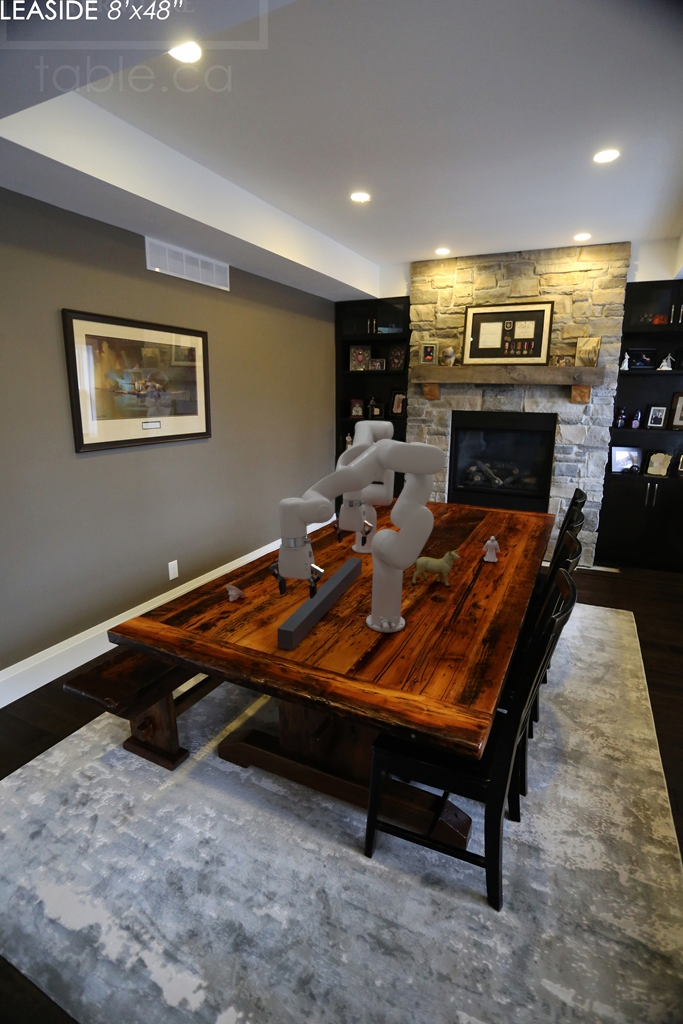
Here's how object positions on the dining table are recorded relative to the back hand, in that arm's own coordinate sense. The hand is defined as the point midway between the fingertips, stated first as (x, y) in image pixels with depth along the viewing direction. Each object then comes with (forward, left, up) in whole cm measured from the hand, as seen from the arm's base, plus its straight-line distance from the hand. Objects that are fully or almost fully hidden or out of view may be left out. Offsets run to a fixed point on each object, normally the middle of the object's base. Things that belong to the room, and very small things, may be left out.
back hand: (351, 543), depth 199 cm
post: (+25, +12, -14) cm, 31 cm away
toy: (-18, +28, -14) cm, 36 cm away
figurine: (-60, +30, -14) cm, 69 cm away
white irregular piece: (+46, -14, -14) cm, 50 cm away
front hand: (+49, +23, 0) cm, 54 cm away
